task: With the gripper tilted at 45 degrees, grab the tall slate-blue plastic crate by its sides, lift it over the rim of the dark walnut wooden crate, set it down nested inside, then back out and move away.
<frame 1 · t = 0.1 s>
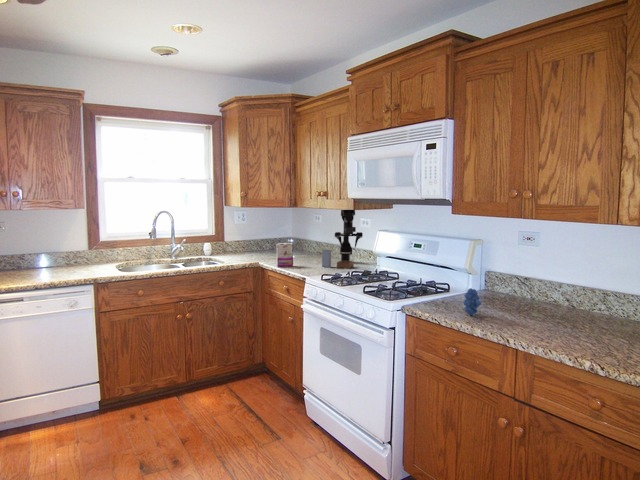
hand: (348, 247, 300), 15 cm above the worktop, tool pointing down, fingers open, 9 cm apart
candy bar box: (284, 266, 314), on the worktop
small plastic crate: (326, 267, 313), on the worktop
wooden crate: (345, 267, 312), on the worktop
grapes: (472, 316, 190), on the worktop
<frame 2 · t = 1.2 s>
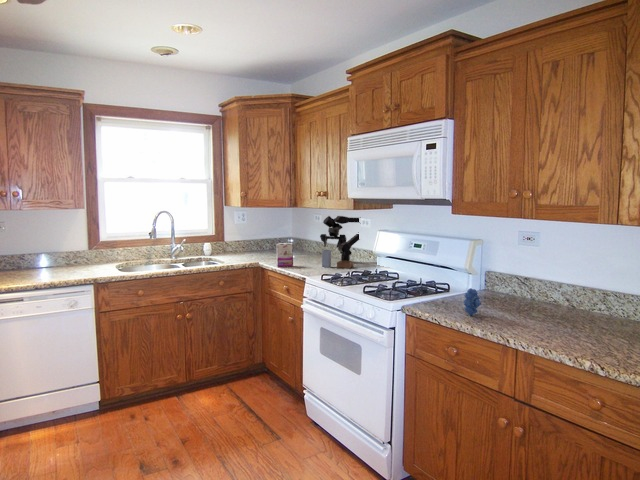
hand: (330, 247, 319), 13 cm above the worktop, tool tilted 45°, fingers open, 9 cm apart
nothing on the worktop moved.
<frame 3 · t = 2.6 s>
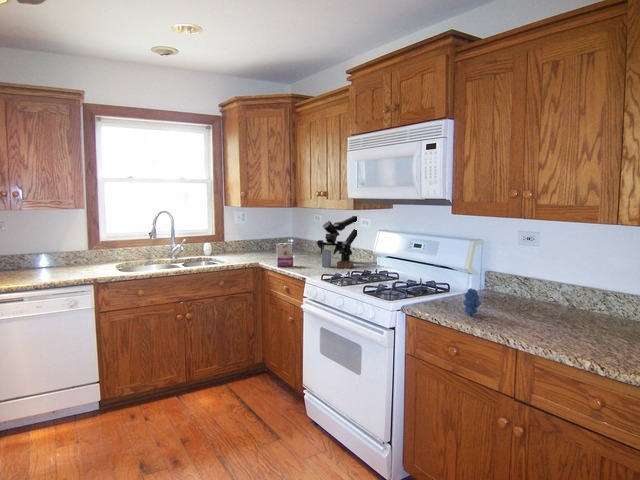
hand: (327, 253, 314), 9 cm above the worktop, tool tilted 45°, fingers open, 9 cm apart
nothing on the worktop moved.
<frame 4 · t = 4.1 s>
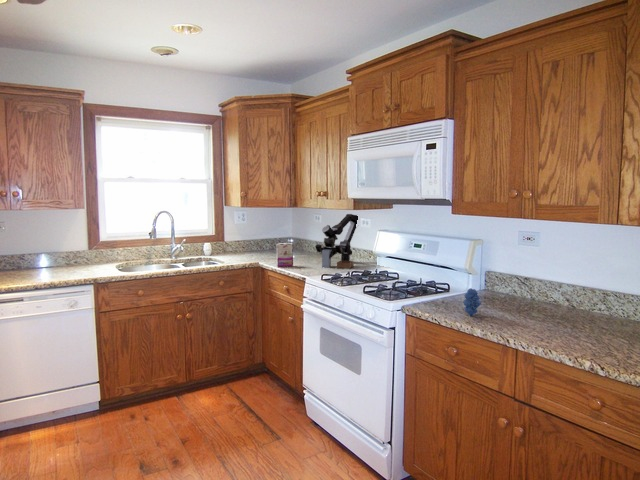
hand: (325, 258, 311), 7 cm above the worktop, tool tilted 45°, fingers closed on small plastic crate, 5 cm apart
small plastic crate: (326, 267, 313), on the worktop, touching gripper
everything else where it was.
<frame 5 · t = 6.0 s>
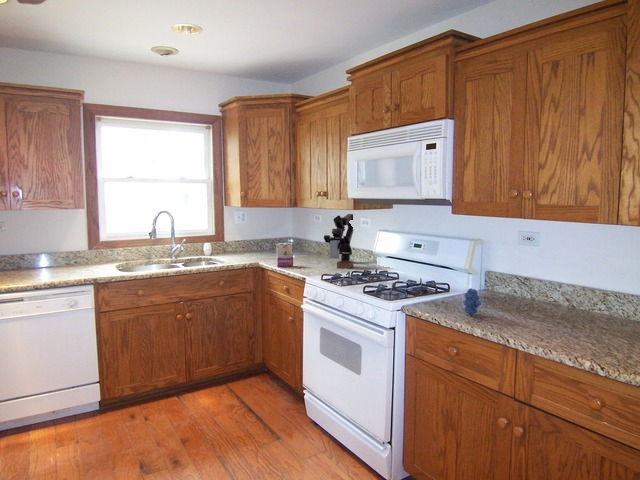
hand: (334, 248, 310), 13 cm above the worktop, tool tilted 45°, fingers closed on small plastic crate, 5 cm apart
small plastic crate: (334, 257, 312), point 7 cm above the worktop, touching gripper
everything else where it was.
when the fingers open (9 cm above the worktop, at t = 8.0 s): small plastic crate drops 1 cm, resting on wooden crate.
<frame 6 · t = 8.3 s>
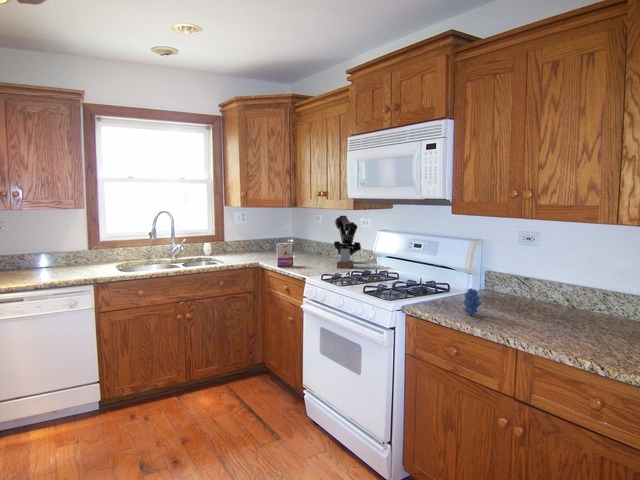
hand: (344, 254, 310), 9 cm above the worktop, tool tilted 45°, fingers open, 9 cm apart
small plastic crate: (345, 266, 312), point 1 cm above the worktop, touching wooden crate
everything else where it was.
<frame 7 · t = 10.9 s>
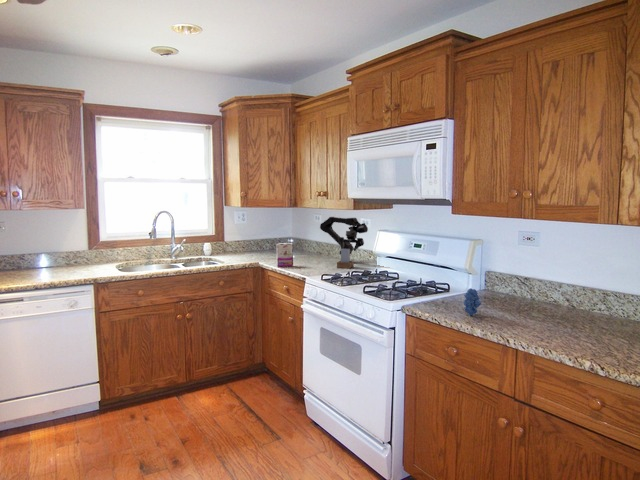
hand: (348, 250, 319), 11 cm above the worktop, tool tilted 45°, fingers open, 9 cm apart
nothing on the worktop moved.
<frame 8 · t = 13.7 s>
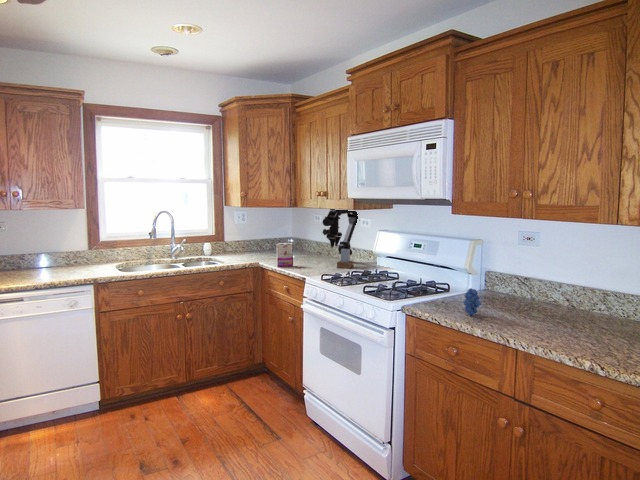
hand: (334, 246, 324), 13 cm above the worktop, tool pointing down, fingers open, 9 cm apart
nothing on the worktop moved.
at the end: small plastic crate 0.0 cm off-centre on the wooden crate, point 1.0 cm above the wooden crate's base; small plastic crate tilted 0°; the gripper is holding nothing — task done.
